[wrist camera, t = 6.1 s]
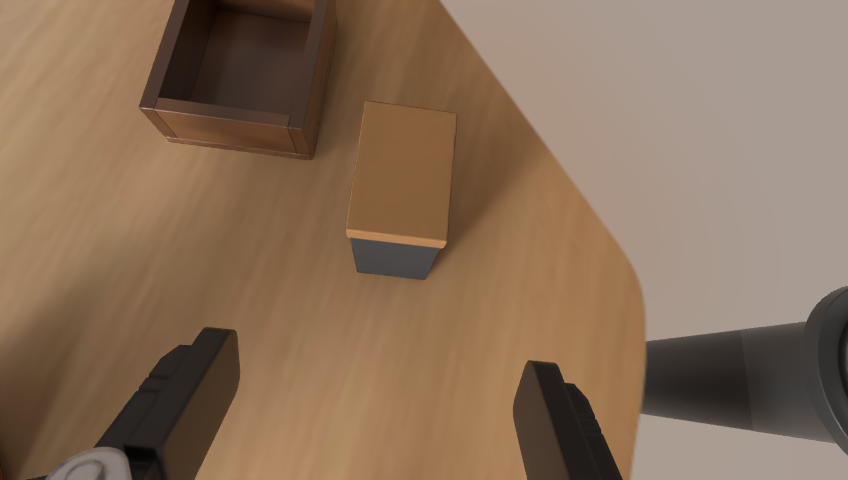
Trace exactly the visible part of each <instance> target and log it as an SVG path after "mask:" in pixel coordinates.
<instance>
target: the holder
mask: <svg viewBox="0 0 848 480" xmlns="http://www.w3.org/2000/svg"><path fill="white" fill-rule="evenodd" d="M337 27H338V21H337V12H336V3H335V0H175V2H174V5H173V8H172V11H171V14H170V17H169V20H168V23H167V26H166V28H165V31H164V34H163V37H162V40H161V43H160V46H159V49H158V52H157V55H156V58H155V61H154V64H153V67H152V70H151V72H150V75H149V78H148V81H147V84H146V87H145V90H144V93H143V96H142V99H141V102H140V105H139V109H140V110H141V111H142V112H143V113H144V114H145V115H146V116H147V117H148V119H149V120H150V121H151V122H152V123H153V124H154V125H155V126H156V127H157V129H158V130H159V131H160V132H161V133H162V134H163V135H164V136H165V137H166V138H167V139H168V141H169V142H175V143H183V144H190V145H198V146H206V147H214V148H221V149H229V150H237V151H244V152H252V153H260V154H268V155H275V156H283V157H291V158H298V159H306V160H312V158H313V152H314V147H315V142H316V137H317V132H318V126H319V121H320V116H321V111H322V105H323V100H324V95H325V90H326V84H327V79H328V74H329V69H330V64H331V58H332V53H333V48H334V43H335V37H336V32H337Z"/></svg>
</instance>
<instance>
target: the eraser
mask: <svg viewBox="0 0 848 480" xmlns="http://www.w3.org/2000/svg"><path fill="white" fill-rule="evenodd" d="M456 128H457V113H453V112H446V111H438V110H431V109H424V108H417V107H410V106H403V105H396V104H388V103H381V102H374V101H366V102H365V106H364V112H363V119H362V125H361V131H360V138H359V144H358V151H357V157H356V163H355V170H354V176H353V182H352V189H351V195H350V202H349V208H348V214H347V221H346V227H345V230H346V234H347V237H350V239H351V244H352V249H353V254H354V259H355V263H356V268H357V272H361V273H369V274H378V275H387V276H396V277H405V278H414V279H423V280H425V279H426V277H427V275H428V273H429V271H430V269H431V267H432V264H433V262H434V260H435V258H436V256H437V254H438V252H439V250H440V248H444V247H445V245H446V243H447V241H448V228H449V216H450V203H451V191H452V178H453V166H454V153H455V140H456Z"/></svg>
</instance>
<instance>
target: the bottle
mask: <svg viewBox="0 0 848 480" xmlns="http://www.w3.org/2000/svg"><path fill="white" fill-rule="evenodd" d="M0 480H3V472H2V469H1V466H0Z"/></svg>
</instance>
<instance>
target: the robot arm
mask: <svg viewBox="0 0 848 480" xmlns="http://www.w3.org/2000/svg"><path fill="white" fill-rule="evenodd" d="M838 362H839V371H840V376H841V381H842V384H843V387H844V390H845V393H846V395H847V398H848V322H847V324H846V325H845V327H844V329H843V332H842V335H841V338H840V342H839V350H838ZM239 379H240V364H239V351H238V338H237V332H236V331H235V330H232V329H222V328H212V327H205V328H204V329H202V331H201V332H200V333H199V335H198V336H197V338H196V339H195V341H194V342H193V344H192V345H191V346H190V345H179V346H177V347H176V348H175V349H173V350H172V351H170V352H169V353H167V354H166V355H165V356H163V357H162V358H161V359H160V360H159V362H158V363H157V364H156V366H155V367H154V368H153V370H152V371H151V372H150V374H149V377H147V378H146V379H145V380H144V382H143V383H142V384H141V385H140V387H139V390H138V391H136V392H135V393H134V395H133V396H132V397H131V399H130V400H129V401H128V403H127V404H126V405H125V407H124V408H123V409H122V411H121V412H120V413H119V415H118V416H117V417H116V419H115V420H114V421H113V423H112V424H111V425H110V427H109V428H108V429H107V431H106V432H105V433H104V435H103V436H102V437H101V439H100V440H99V441H98V443H97V444H96V445H95V446H94V447H93V448H92V449H88V450H85V451H82V452H80V453H78V454H75V455H74V456H72V457H70V458H68V459H67V460H65V461H64V462H62V463H61V464H60V465H58V466H57V467H56V468H55V469H54V470H53V471H52V472H51V473H50V474H49V475H46V476H42V477H37V478H32V479H27V480H194V479H195V477H196V475H197V473H198V471H199V469H200V467H201V465H202V462H203V460H204V458H205V456H206V454H207V452H208V450H209V448H210V446H211V444H212V442H213V440H214V438H215V436H216V434H217V432H218V430H219V427H220V425H221V423H222V421H223V419H224V417H225V415H226V413H227V411H228V409H229V407H230V405H231V403H232V401H233V399H234V397H235V394H236V392H237V388H238V385H239ZM513 418H514V424H515V428H516V432H517V437H518V441H519V445H520V450H521V454H522V458H523V463H524V467H525V471H526V476H527V480H623V479H622V477H621V475H620V473H619V470H618V468H617V466H616V463H615V461H614V459H613V456H612V454H611V452H610V450H609V447H608V445H607V443H606V440H605V438H604V436H603V434H601V429H600V427H599V424H598V422H597V420H595V415H594V413H593V411H592V408H591V406H590V404H589V401H588V399H587V398H586V397H585V396H584V395H583V394H582V392H581V391H580V390H579V389H578V388H577V387H576V386H575V384H570V383H565V382H564V380H563V377H562V375H561V372H560V370H559V367H558V365H557V364H556V363H551V362H541V361H531V360H529V361H528V362H527V363H526V365H525V368H524V371H523V374H522V377H521V380H520V383H519V386H518V389H517V393H516V396H515V399H514V405H513Z"/></svg>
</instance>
